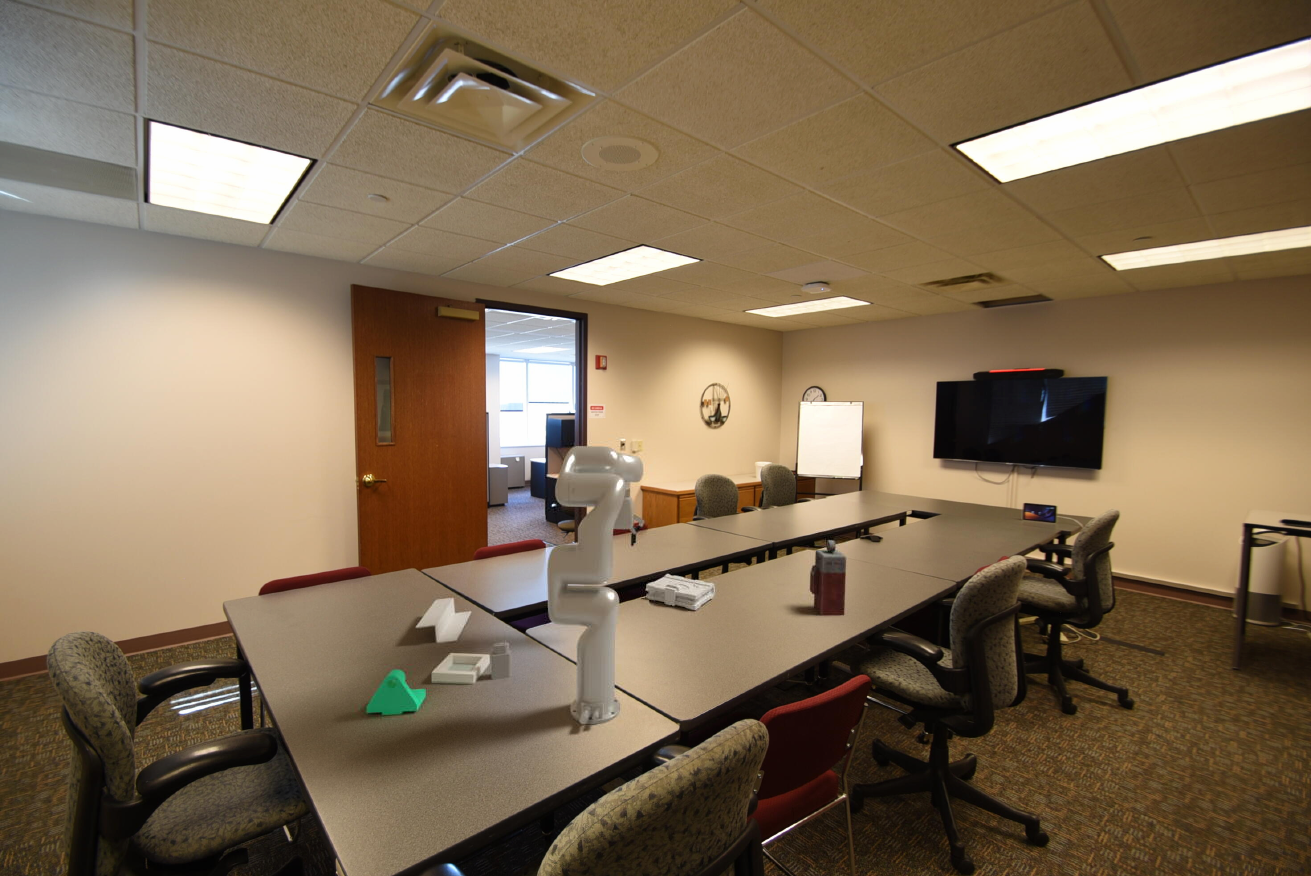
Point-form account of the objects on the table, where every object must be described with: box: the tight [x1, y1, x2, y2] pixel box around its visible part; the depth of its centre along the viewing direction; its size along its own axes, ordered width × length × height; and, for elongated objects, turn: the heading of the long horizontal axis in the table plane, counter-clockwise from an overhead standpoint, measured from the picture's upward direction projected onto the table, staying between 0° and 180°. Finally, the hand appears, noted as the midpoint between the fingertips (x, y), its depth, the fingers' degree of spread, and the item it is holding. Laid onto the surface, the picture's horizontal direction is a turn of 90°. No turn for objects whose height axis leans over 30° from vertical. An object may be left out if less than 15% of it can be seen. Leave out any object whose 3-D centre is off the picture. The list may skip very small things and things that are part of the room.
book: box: [645, 573, 716, 611], centre depth 220 cm, size 19×28×8 cm
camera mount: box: [366, 669, 427, 716], centre depth 137 cm, size 12×8×10 cm, turn 96°
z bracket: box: [415, 597, 472, 644], centre depth 186 cm, size 12×25×6 cm, turn 8°
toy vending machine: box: [809, 539, 847, 617], centre depth 205 cm, size 9×11×28 cm
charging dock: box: [431, 652, 491, 685], centre depth 154 cm, size 12×12×3 cm
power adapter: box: [490, 635, 512, 680], centre depth 152 cm, size 3×5×12 cm, turn 107°
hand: (618, 544), depth 178 cm, fingers open, 9 cm apart
